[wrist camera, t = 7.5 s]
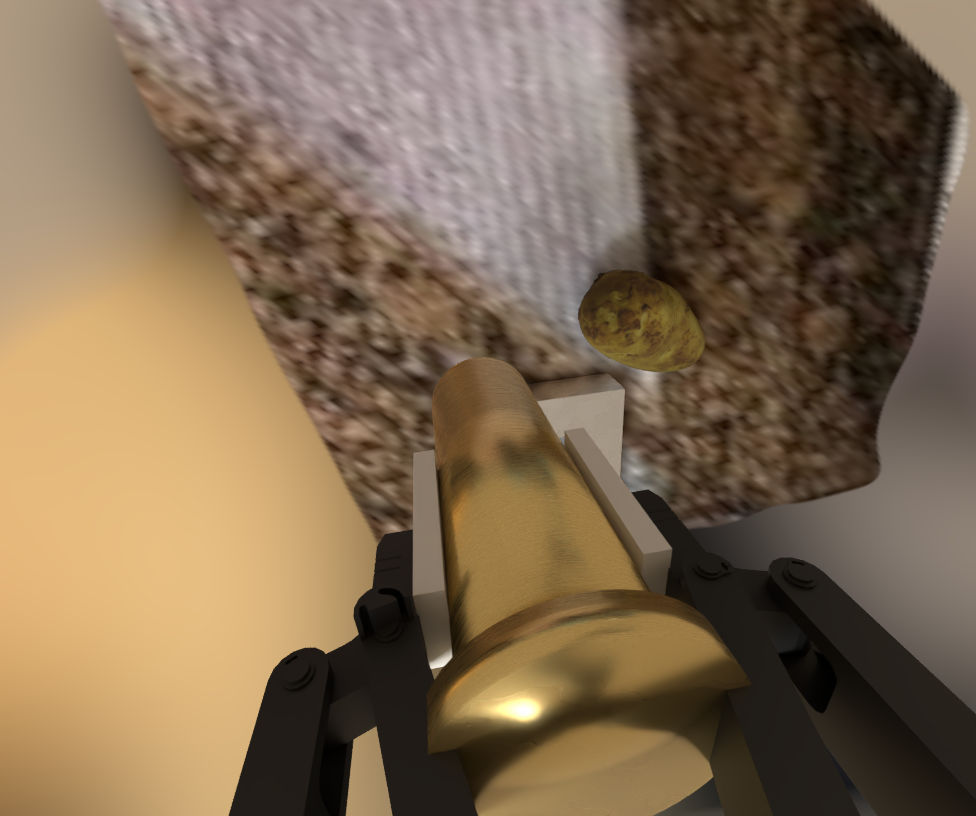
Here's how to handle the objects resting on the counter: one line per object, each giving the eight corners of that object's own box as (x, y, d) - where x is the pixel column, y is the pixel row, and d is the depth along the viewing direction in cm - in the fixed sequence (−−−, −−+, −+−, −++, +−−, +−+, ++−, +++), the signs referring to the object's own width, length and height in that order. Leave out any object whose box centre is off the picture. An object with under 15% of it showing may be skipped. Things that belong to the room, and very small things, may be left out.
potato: (624, 393, 44) (664, 431, 37) (546, 297, 39) (576, 319, 32) (693, 337, 43) (750, 366, 35) (623, 229, 37) (672, 237, 30)
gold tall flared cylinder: (408, 352, 21) (392, 684, 7) (540, 335, 22) (786, 606, 7) (427, 466, 24) (446, 871, 9) (544, 448, 24) (727, 803, 10)
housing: (463, 392, 41) (467, 411, 38) (607, 372, 43) (624, 388, 39) (477, 512, 48) (482, 537, 44) (603, 491, 49) (618, 514, 45)
